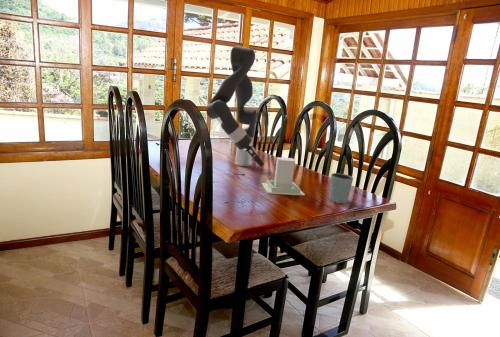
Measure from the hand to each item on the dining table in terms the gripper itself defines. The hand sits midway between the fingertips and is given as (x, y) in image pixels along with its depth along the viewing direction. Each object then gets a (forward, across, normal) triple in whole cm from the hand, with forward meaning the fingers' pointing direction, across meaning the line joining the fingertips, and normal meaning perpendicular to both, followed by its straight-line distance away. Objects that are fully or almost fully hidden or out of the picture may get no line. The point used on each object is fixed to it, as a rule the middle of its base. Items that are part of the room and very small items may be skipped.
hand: (260, 162), depth 167 cm
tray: (+17, -2, 0) cm, 17 cm away
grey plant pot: (+34, -13, -17) cm, 40 cm away
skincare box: (+17, -2, 0) cm, 17 cm away
